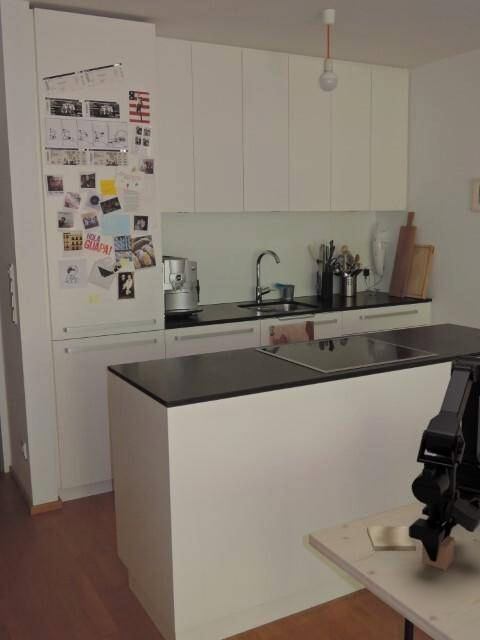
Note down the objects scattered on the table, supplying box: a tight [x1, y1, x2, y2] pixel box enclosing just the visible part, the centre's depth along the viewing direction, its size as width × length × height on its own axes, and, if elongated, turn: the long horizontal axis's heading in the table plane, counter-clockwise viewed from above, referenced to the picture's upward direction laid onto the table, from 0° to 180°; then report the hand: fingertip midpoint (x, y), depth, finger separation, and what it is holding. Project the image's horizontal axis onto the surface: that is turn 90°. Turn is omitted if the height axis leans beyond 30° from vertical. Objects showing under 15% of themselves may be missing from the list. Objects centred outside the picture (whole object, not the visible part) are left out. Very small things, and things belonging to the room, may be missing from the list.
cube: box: [421, 535, 455, 571], centre depth 137 cm, size 5×5×5 cm
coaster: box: [366, 525, 417, 551], centre depth 146 cm, size 9×9×1 cm
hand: (437, 555), depth 137 cm, fingers closed on cube, 5 cm apart
